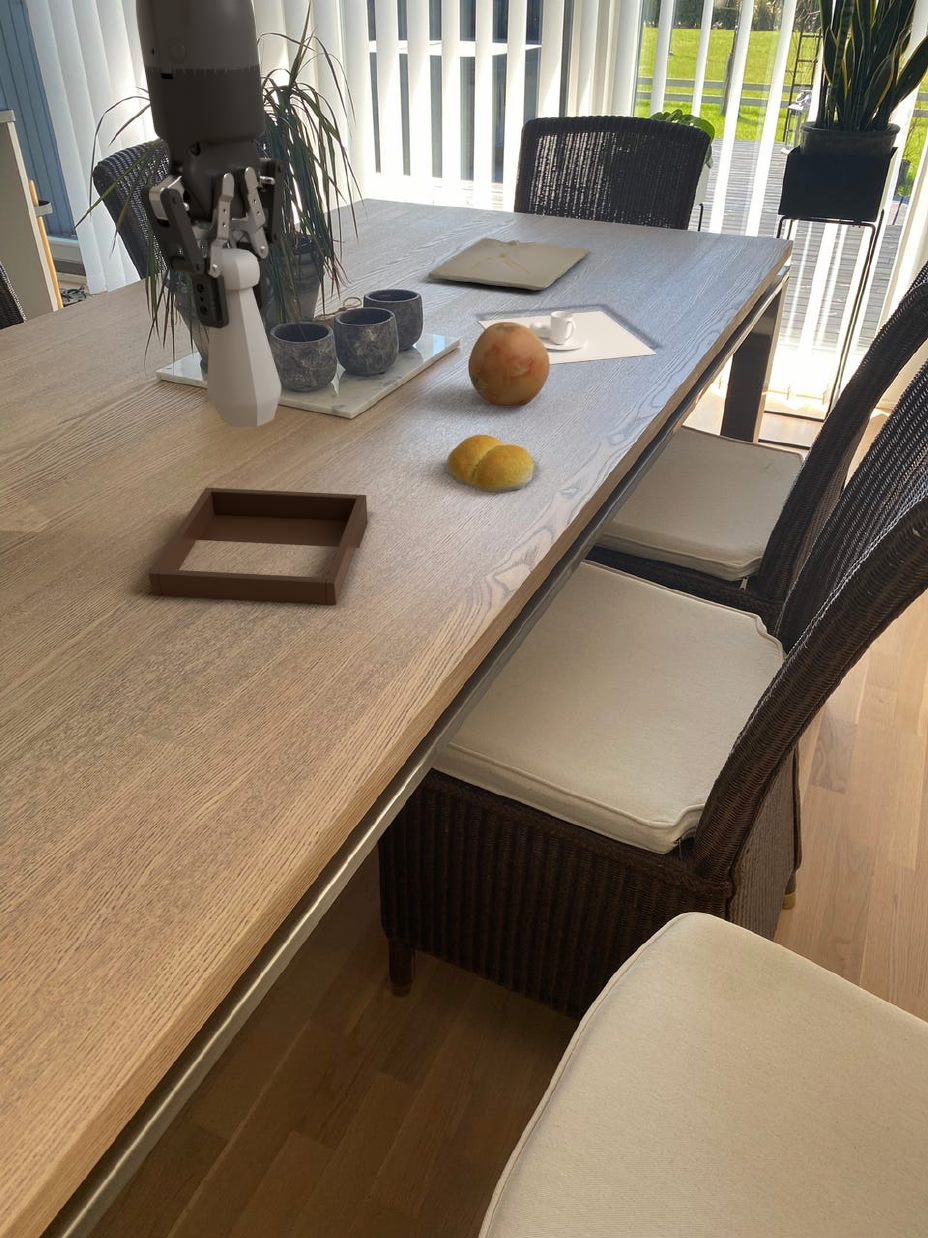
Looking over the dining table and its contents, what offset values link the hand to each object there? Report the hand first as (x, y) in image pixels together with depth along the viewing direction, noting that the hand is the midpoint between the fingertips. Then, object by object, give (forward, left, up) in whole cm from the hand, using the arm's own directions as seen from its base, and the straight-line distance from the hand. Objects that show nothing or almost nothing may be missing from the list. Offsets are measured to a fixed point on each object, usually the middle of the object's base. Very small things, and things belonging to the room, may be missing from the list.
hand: (234, 315), depth 72 cm
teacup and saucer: (+27, +66, -23) cm, 75 cm away
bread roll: (+19, +20, -23) cm, 35 cm away
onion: (+20, +40, -23) cm, 50 cm away
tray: (0, +1, -22) cm, 22 cm away
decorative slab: (+18, +101, -23) cm, 105 cm away
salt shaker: (0, 0, -8) cm, 8 cm away
